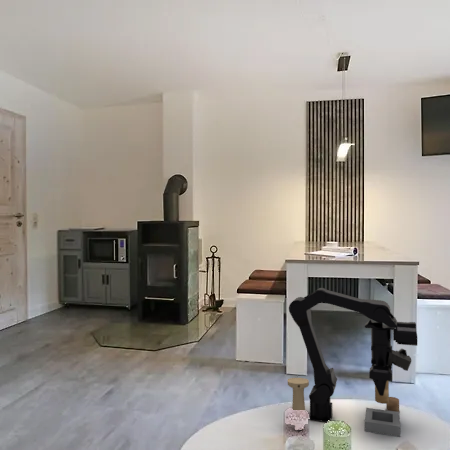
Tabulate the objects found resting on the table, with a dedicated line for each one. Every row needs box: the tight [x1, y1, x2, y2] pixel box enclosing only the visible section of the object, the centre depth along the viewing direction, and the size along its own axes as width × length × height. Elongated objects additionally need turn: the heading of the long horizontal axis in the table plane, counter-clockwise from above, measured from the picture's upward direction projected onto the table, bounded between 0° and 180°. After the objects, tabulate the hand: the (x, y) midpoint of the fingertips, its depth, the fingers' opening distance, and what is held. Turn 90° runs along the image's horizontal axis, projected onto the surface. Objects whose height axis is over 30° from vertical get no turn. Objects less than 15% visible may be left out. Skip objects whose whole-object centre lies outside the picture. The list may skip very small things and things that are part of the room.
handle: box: [287, 377, 310, 411], centre depth 131 cm, size 5×6×15 cm
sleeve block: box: [364, 407, 401, 438], centre depth 131 cm, size 10×10×3 cm
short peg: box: [385, 396, 400, 412], centre depth 142 cm, size 4×4×4 cm
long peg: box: [374, 381, 390, 404], centre depth 131 cm, size 4×4×8 cm
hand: (381, 392), depth 131 cm, fingers closed on long peg, 4 cm apart
